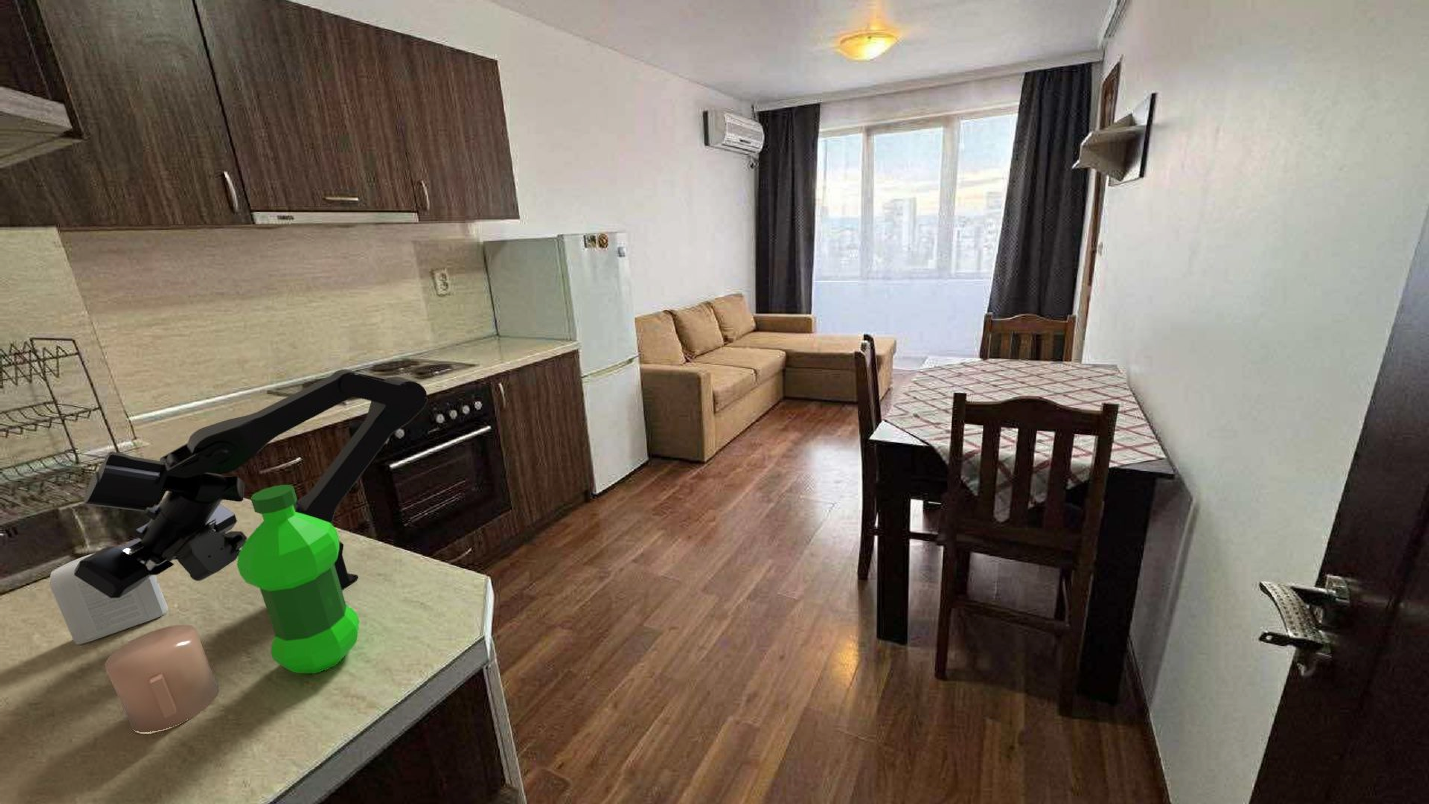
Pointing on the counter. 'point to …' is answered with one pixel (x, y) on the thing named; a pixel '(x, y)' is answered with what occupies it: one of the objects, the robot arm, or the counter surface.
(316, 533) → the plastic bottle
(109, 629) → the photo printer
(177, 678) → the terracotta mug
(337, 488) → the robot arm
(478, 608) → the counter surface
